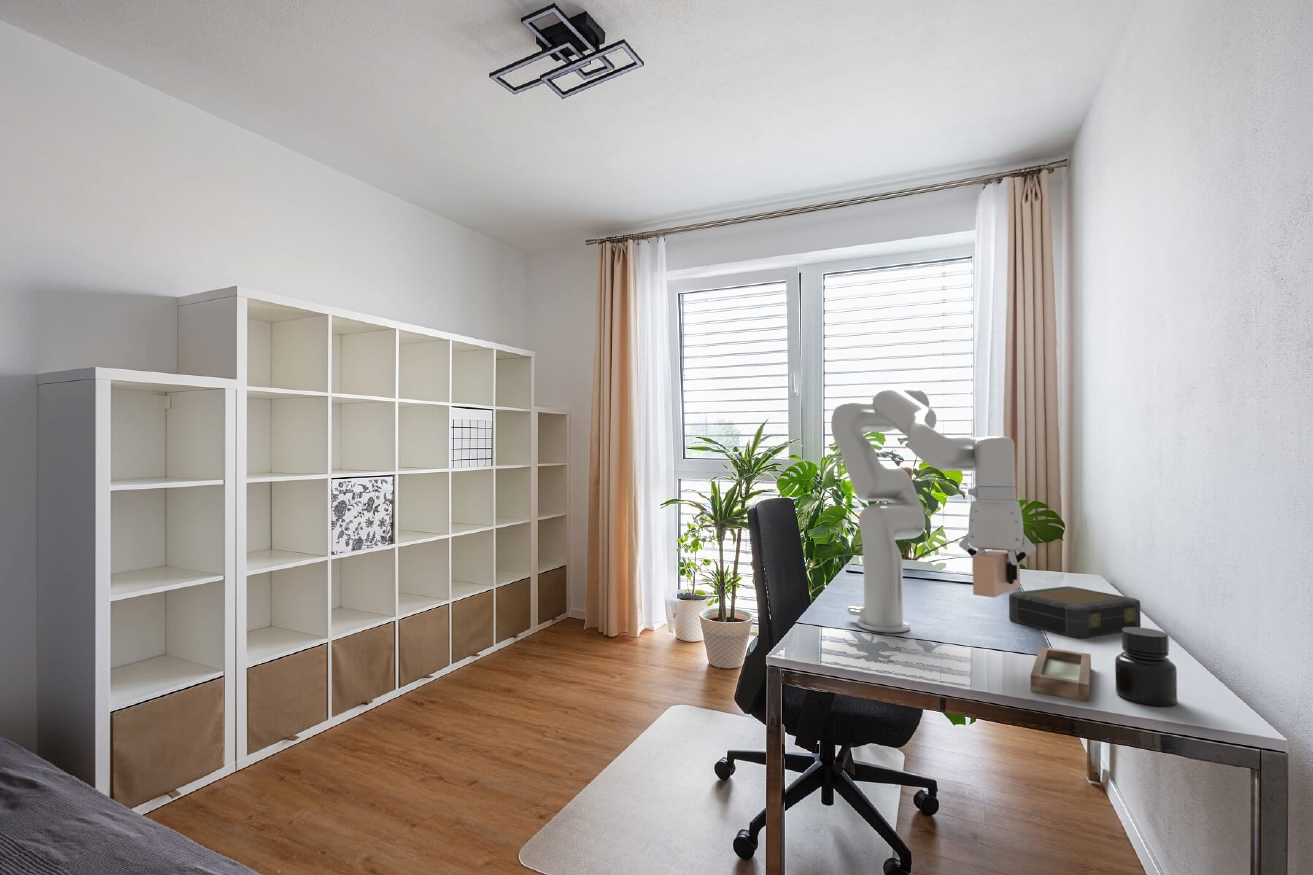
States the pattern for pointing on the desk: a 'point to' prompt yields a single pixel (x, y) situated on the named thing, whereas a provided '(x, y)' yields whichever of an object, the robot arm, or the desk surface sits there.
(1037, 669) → the tray
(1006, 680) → the desk surface
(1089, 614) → the cash box
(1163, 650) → the ink bottle
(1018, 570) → the pink rectangular block
